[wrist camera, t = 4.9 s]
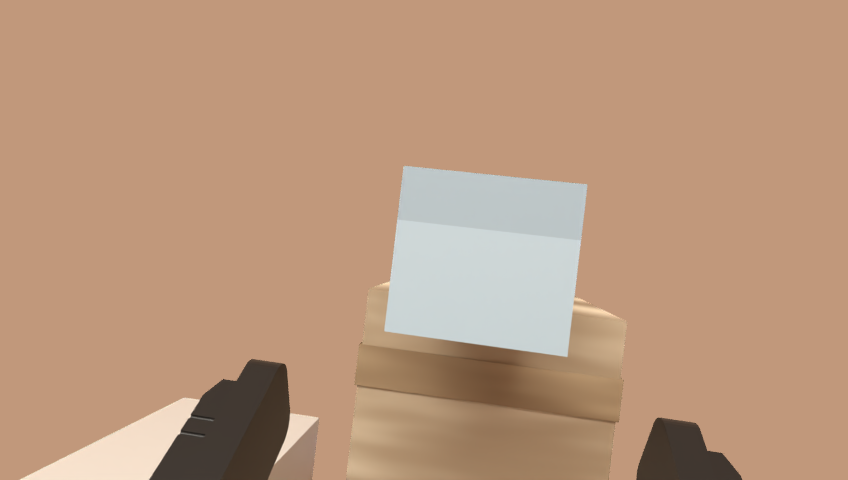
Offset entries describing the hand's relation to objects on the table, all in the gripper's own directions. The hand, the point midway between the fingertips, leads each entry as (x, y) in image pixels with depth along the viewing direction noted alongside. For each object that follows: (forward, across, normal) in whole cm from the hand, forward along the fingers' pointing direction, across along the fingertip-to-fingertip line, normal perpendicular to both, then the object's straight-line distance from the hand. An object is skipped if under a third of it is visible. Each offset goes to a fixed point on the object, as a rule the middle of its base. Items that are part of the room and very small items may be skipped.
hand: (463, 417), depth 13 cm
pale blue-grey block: (+11, 0, -5) cm, 12 cm away
